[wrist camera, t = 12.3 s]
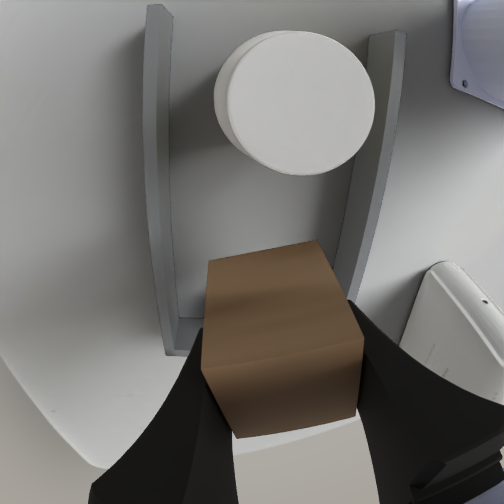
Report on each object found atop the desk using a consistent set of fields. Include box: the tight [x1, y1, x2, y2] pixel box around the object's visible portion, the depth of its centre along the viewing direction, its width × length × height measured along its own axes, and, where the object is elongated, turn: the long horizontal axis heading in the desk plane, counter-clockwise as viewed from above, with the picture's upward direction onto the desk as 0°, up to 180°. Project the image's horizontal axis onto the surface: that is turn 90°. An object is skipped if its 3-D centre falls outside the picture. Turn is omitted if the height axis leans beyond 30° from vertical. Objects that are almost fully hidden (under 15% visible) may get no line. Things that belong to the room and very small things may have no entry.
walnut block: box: [201, 240, 364, 439], centre depth 10 cm, size 4×4×5 cm
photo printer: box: [399, 261, 504, 405], centre depth 18 cm, size 10×4×12 cm, turn 1°
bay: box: [143, 4, 407, 357], centre depth 16 cm, size 11×19×3 cm, turn 176°
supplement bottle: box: [214, 30, 375, 176], centre depth 11 cm, size 5×5×8 cm
